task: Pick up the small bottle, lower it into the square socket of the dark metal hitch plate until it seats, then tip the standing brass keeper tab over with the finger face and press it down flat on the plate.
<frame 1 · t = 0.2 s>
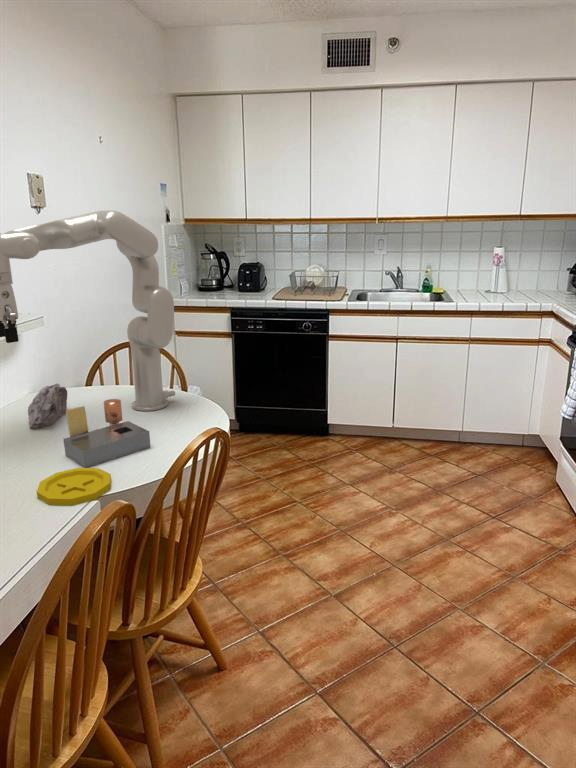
hand: (6, 339, 162), 31 cm above the table, fingers open, 9 cm apart
decorative disc: (75, 490, 141), on the table
rock: (48, 419, 189), on the table
small bottle: (115, 433, 176), on the table
keeper tab: (79, 433, 160), point 6 cm above the table, hinge at 95.0°
hitch plate: (108, 451, 163), on the table
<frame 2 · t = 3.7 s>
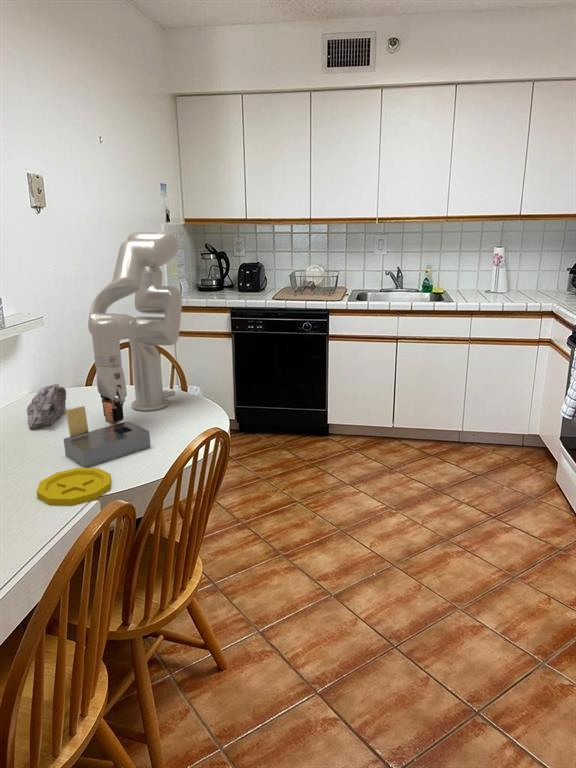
hand: (113, 417, 174), 5 cm above the table, fingers closed on small bottle, 5 cm apart
small bottle: (115, 433, 176), on the table, touching gripper
everything else where it was.
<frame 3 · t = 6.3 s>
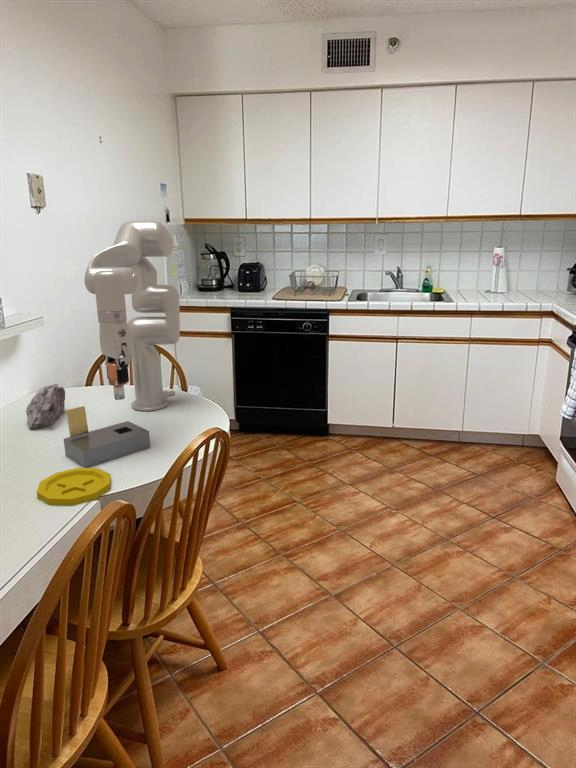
hand: (118, 379, 160), 20 cm above the table, fingers closed on small bottle, 5 cm apart
small bottle: (119, 398, 162), point 15 cm above the table, touching gripper
everything else where it was.
when the fingers open (6 cm above the table, at t = 9.1 s): small bottle stays where it is, resting on hitch plate.
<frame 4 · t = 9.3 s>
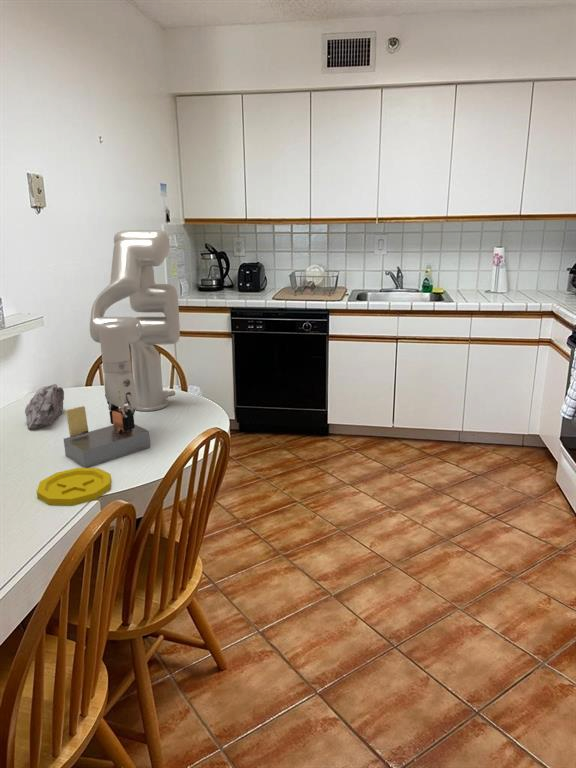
hand: (122, 425, 164), 6 cm above the table, fingers open, 6 cm apart
small bottle: (124, 444, 166), resting on hitch plate
everything else where it was.
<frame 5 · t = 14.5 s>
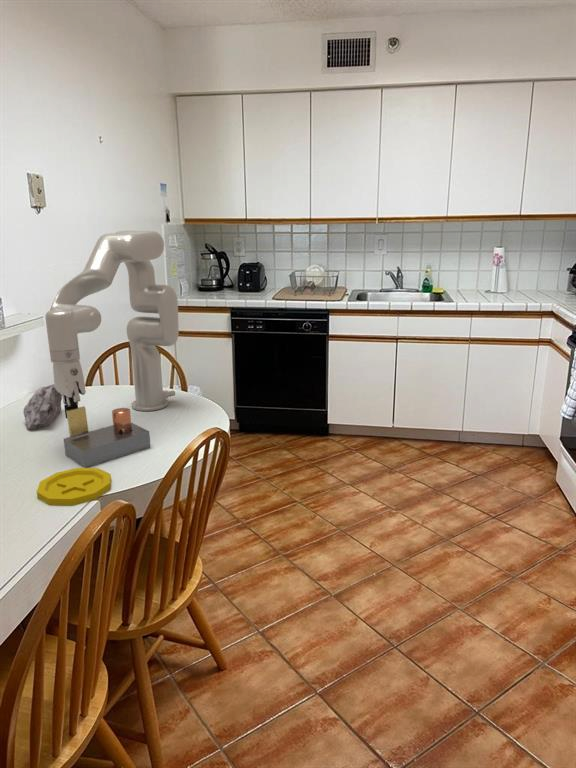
hand: (72, 417, 161), 10 cm above the table, fingers closed
keeper tab: (79, 433, 160), point 6 cm above the table, hinge at 92.5°, touching gripper
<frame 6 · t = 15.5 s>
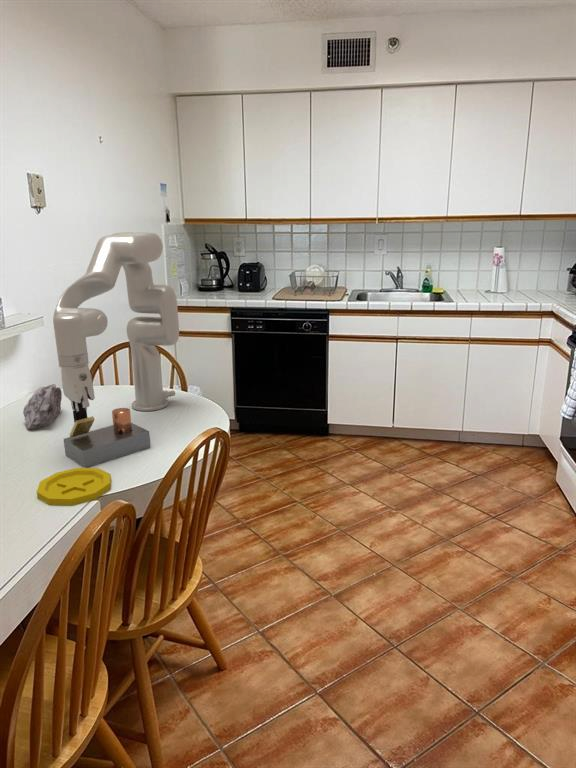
hand: (81, 423, 158), 9 cm above the table, fingers closed
keeper tab: (79, 433, 160), point 6 cm above the table, hinge at 46.6°, touching gripper
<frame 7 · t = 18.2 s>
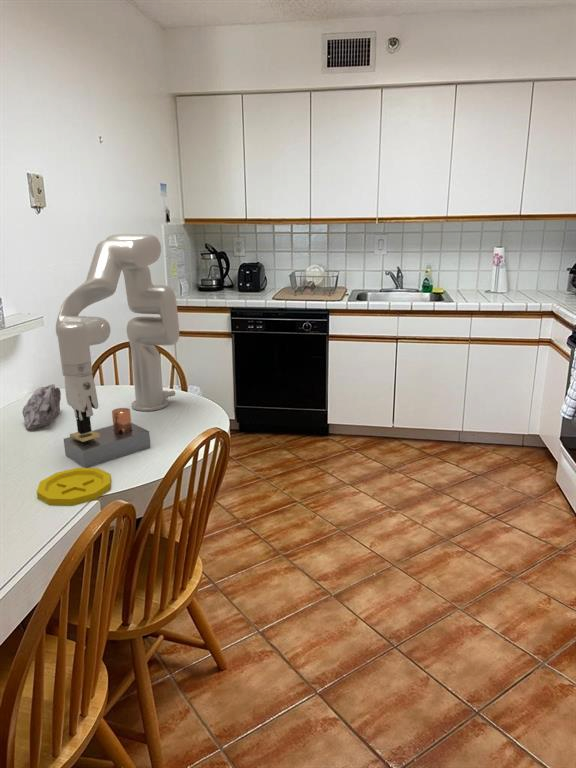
hand: (84, 431, 158), 7 cm above the table, fingers closed
keeper tab: (79, 433, 160), point 6 cm above the table, hinge at 6.4°
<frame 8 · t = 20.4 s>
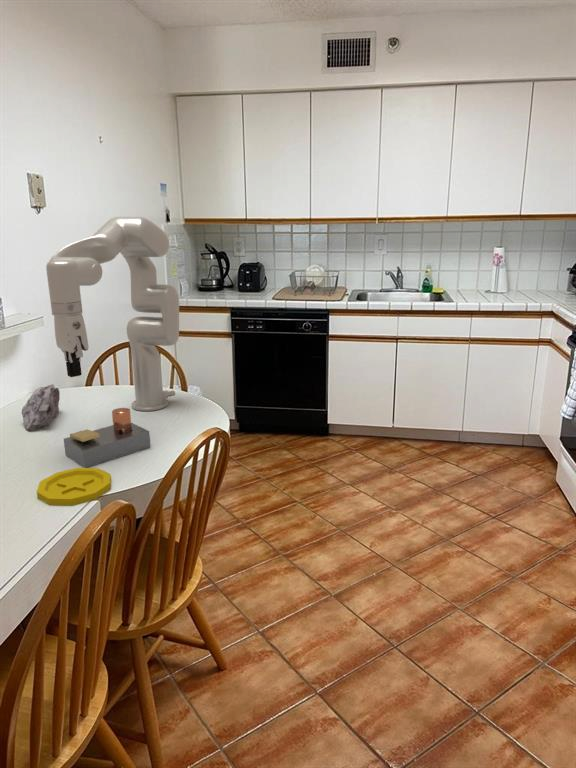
hand: (74, 375, 154), 23 cm above the table, fingers closed
at the end: small bottle 0.1 cm from the target spot on the hitch plate, point 0.5 cm above the hitch plate's base; small bottle tilted 0°; keeper tab at +6° (first picture: +95°) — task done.
